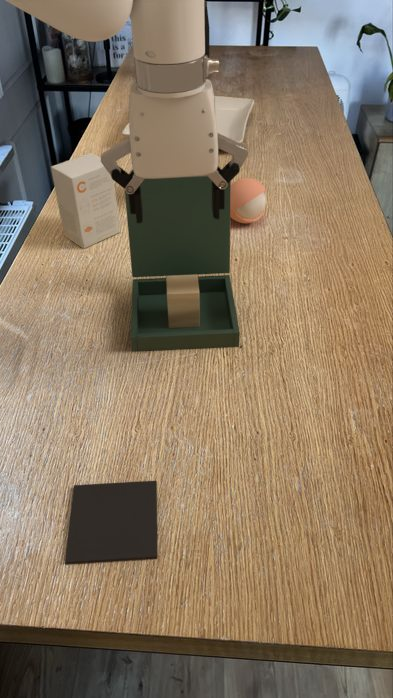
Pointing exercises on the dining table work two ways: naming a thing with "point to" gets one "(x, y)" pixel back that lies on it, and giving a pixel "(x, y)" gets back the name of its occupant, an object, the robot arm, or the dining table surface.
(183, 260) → the lid
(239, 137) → the square plate
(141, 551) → the mat
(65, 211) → the small box
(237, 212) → the toy ball
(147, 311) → the dark green shallow tray
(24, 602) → the dining table surface
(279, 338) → the dining table surface
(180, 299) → the block
